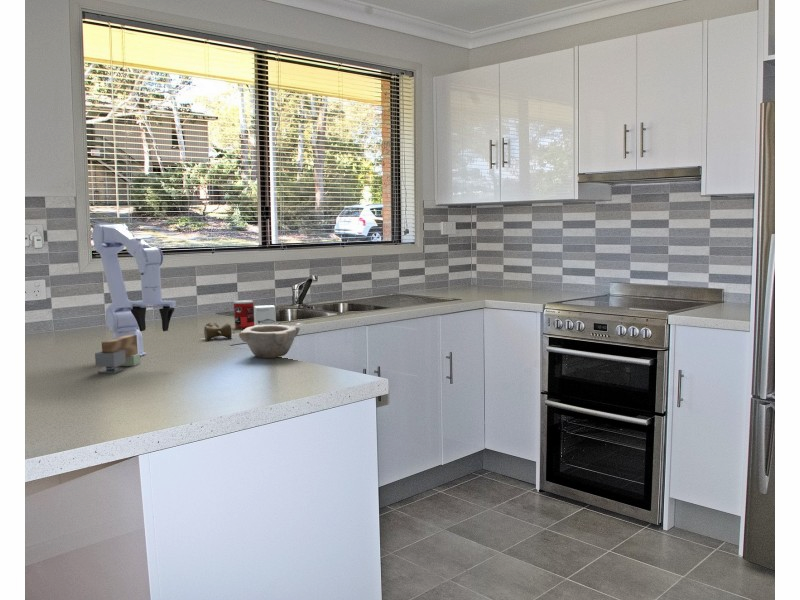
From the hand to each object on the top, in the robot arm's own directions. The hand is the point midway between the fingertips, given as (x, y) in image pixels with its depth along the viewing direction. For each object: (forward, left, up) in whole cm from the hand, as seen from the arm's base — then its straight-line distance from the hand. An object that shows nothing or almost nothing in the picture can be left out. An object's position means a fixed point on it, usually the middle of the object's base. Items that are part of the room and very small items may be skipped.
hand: (154, 330), depth 220 cm
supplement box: (-45, +19, -11) cm, 50 cm away
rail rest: (+2, -8, -10) cm, 13 cm away
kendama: (-50, -3, -11) cm, 51 cm away
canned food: (-76, -2, -11) cm, 77 cm away
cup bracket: (+12, -8, -10) cm, 17 cm away
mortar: (-15, +32, -11) cm, 37 cm away
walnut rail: (+6, -8, -7) cm, 13 cm away
